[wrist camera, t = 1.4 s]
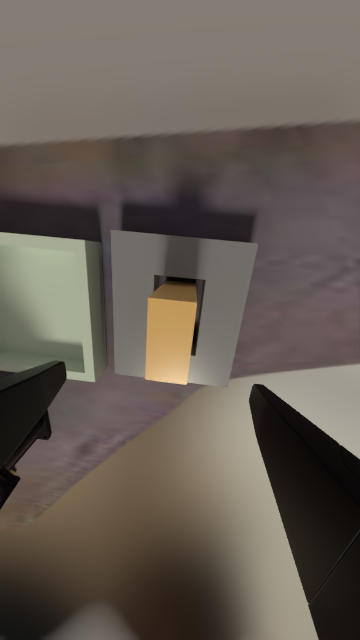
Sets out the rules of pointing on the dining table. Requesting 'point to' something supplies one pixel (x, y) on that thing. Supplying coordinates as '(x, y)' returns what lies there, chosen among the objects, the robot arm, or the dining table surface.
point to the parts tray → (52, 304)
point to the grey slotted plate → (186, 262)
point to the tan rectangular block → (170, 332)
